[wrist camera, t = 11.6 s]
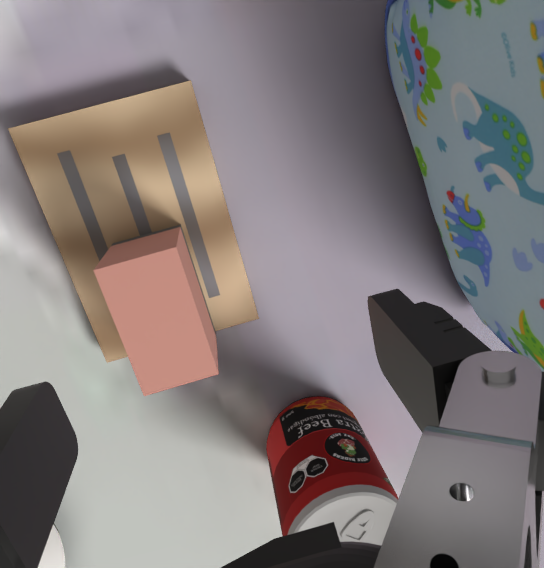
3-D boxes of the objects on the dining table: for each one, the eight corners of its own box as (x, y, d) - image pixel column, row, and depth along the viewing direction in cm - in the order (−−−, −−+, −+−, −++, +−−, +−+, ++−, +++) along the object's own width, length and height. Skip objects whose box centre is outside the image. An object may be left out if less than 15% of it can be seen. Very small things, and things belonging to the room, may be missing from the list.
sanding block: (113, 243, 31) (93, 270, 25) (180, 224, 31) (176, 247, 26) (153, 350, 34) (144, 396, 28) (215, 332, 34) (218, 374, 28)
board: (17, 128, 30) (7, 128, 28) (191, 82, 30) (190, 80, 29) (110, 352, 35) (106, 362, 34) (256, 310, 35) (258, 318, 34)
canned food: (368, 399, 39) (428, 498, 29) (340, 479, 42) (386, 598, 31) (278, 385, 38) (307, 485, 27) (254, 469, 40) (273, 590, 30)
